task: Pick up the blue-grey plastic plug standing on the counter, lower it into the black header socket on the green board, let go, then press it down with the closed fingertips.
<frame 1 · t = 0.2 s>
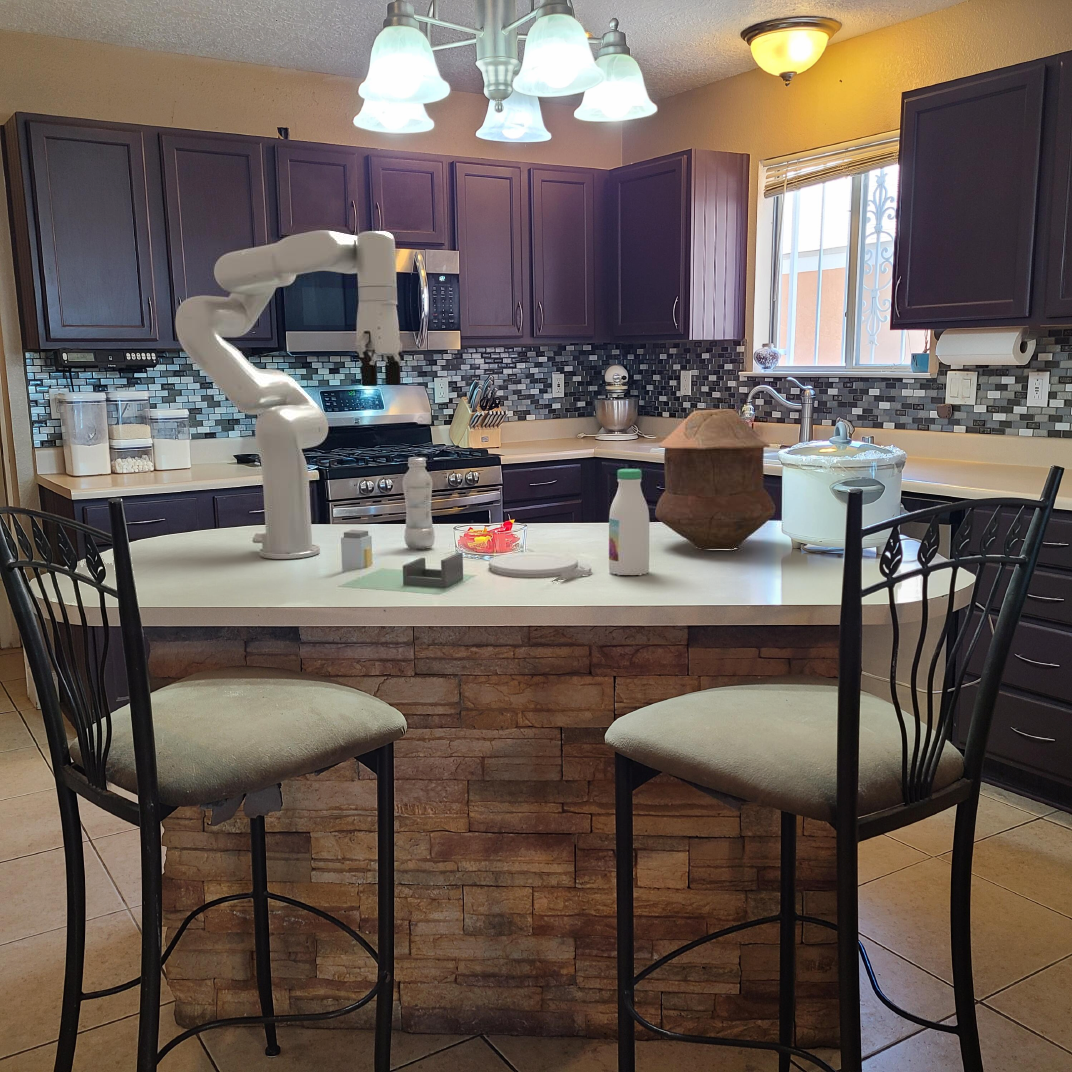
hand: (381, 385, 198), 36 cm above the countertop, tool pointing down, fingers open, 9 cm apart
plastic bottle: (419, 549, 218), on the countertop
board: (409, 586, 181), on the countertop
plug: (357, 571, 195), on the countertop
milk bottle: (628, 573, 191), on the countertop
pottery vessel: (713, 548, 215), on the countertop
lid: (540, 576, 191), on the countertop
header: (433, 582, 179), resting on board
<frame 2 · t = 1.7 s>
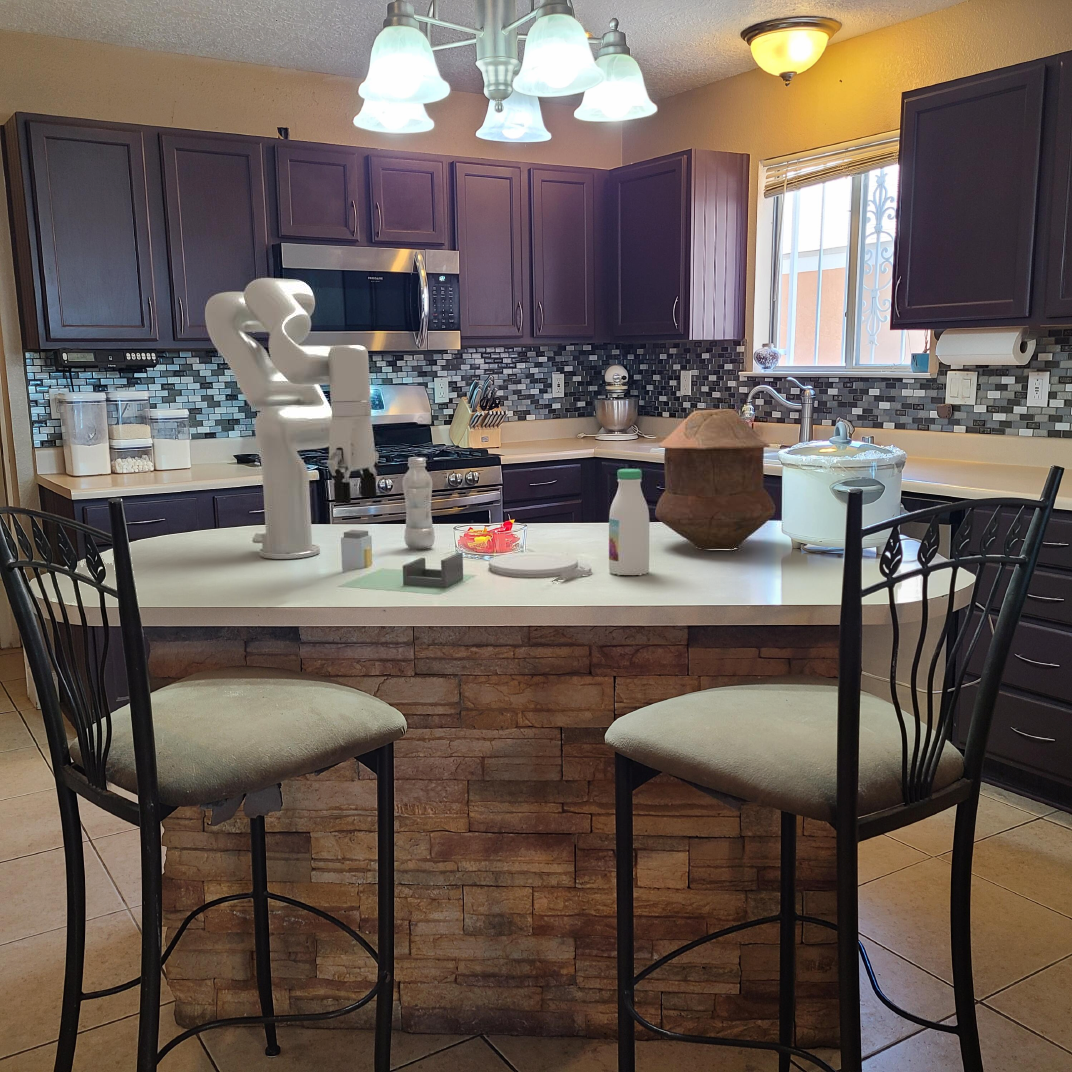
hand: (356, 499, 192), 14 cm above the countertop, tool pointing down, fingers open, 9 cm apart
nothing on the countertop moved.
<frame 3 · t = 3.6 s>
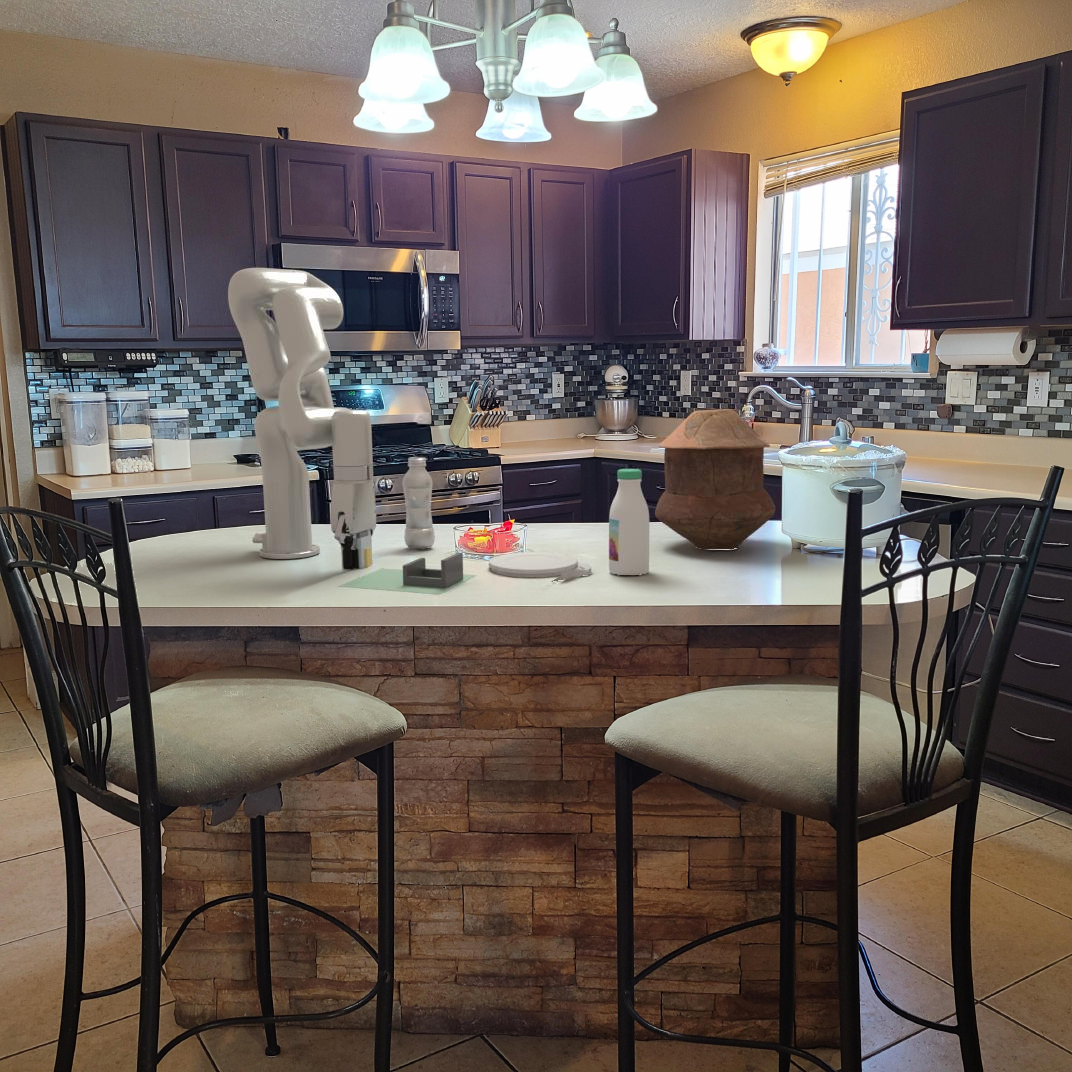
hand: (357, 565, 195), 1 cm above the countertop, tool pointing down, fingers closed on plug, 4 cm apart
plug: (357, 571, 195), on the countertop, touching gripper
everything else where it was.
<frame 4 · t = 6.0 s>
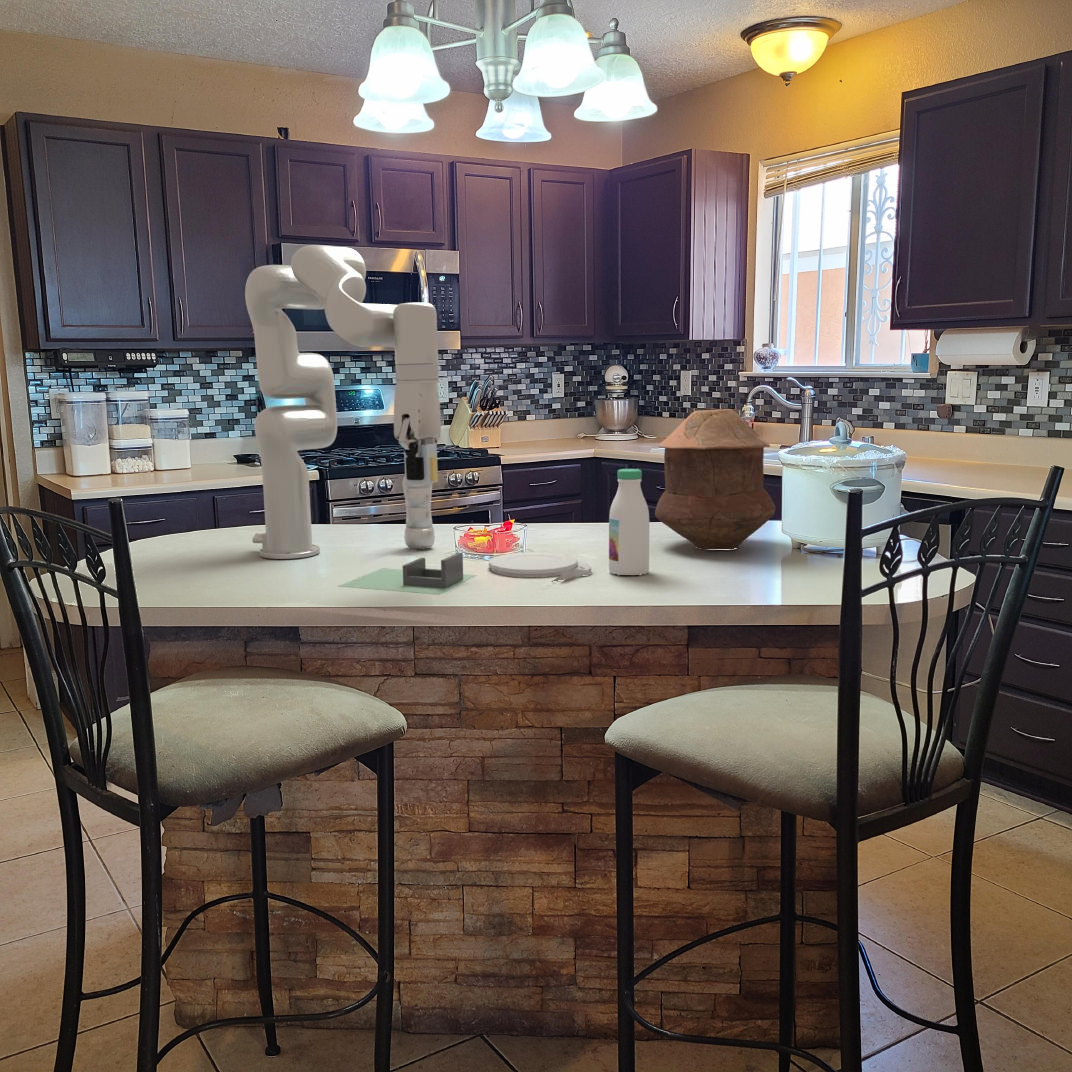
hand: (421, 477, 178), 20 cm above the countertop, tool pointing down, fingers closed on plug, 4 cm apart
plug: (421, 483, 178), point 19 cm above the countertop, touching gripper
everything else where it was.
when the fingers open (3 cm above the countertop, at t = 8.8 s): plug stays where it is, resting on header.
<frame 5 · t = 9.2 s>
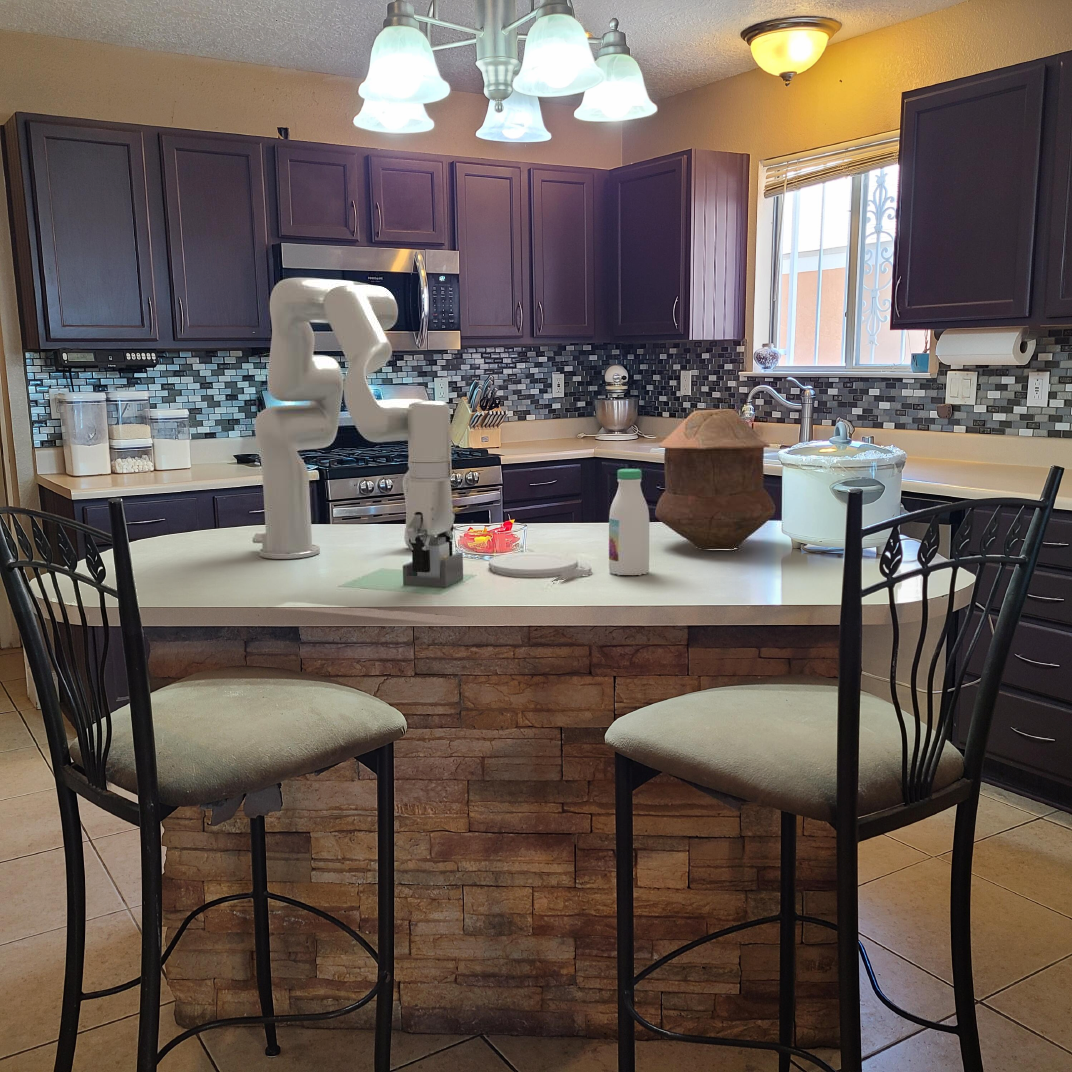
hand: (433, 566, 179), 4 cm above the countertop, tool pointing down, fingers open, 8 cm apart
plug: (433, 581, 179), point 1 cm above the countertop, touching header
everything else where it was.
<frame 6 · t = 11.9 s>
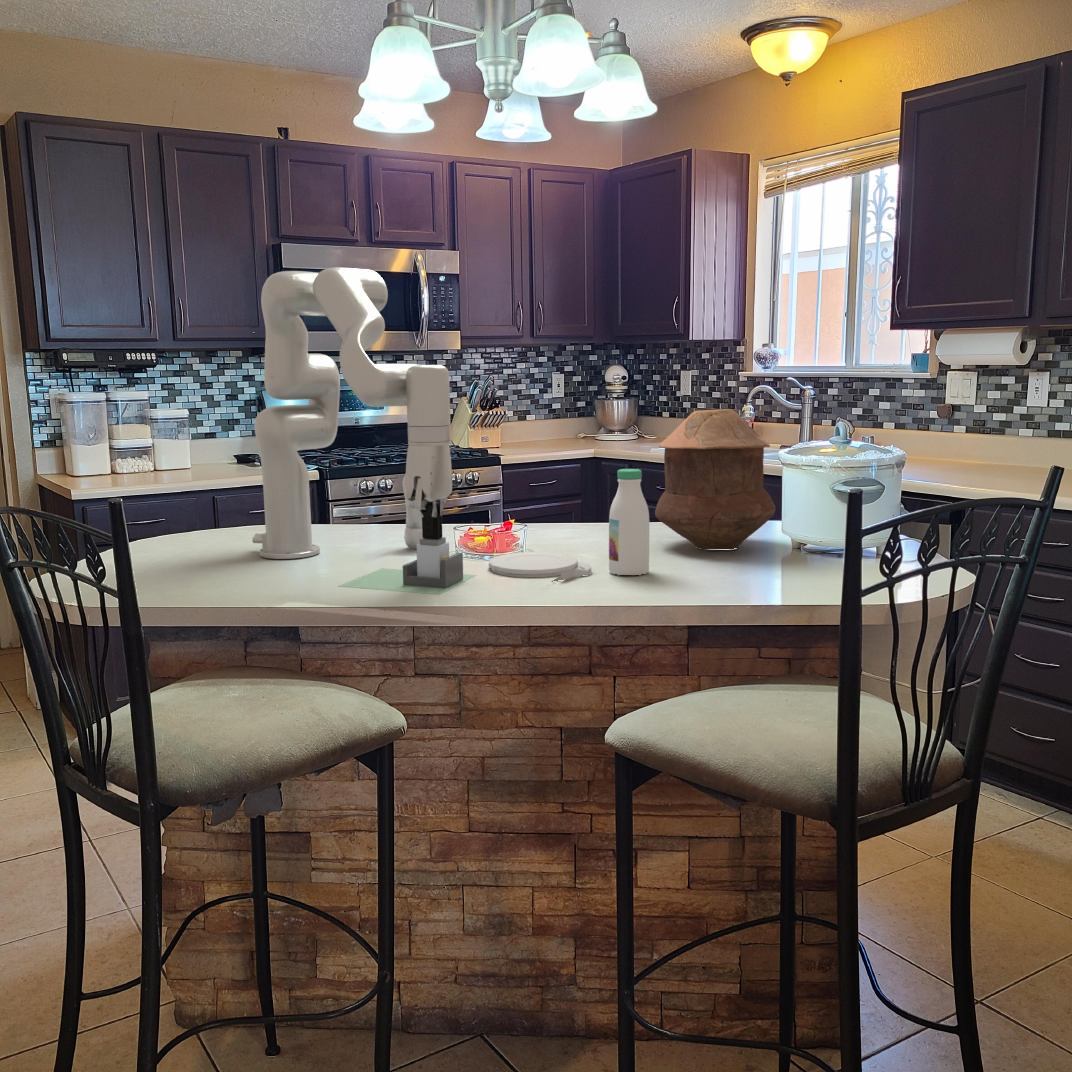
hand: (432, 538, 178), 9 cm above the countertop, tool pointing down, fingers closed
plug: (433, 581, 179), point 1 cm above the countertop, touching gripper, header
everything else where it was.
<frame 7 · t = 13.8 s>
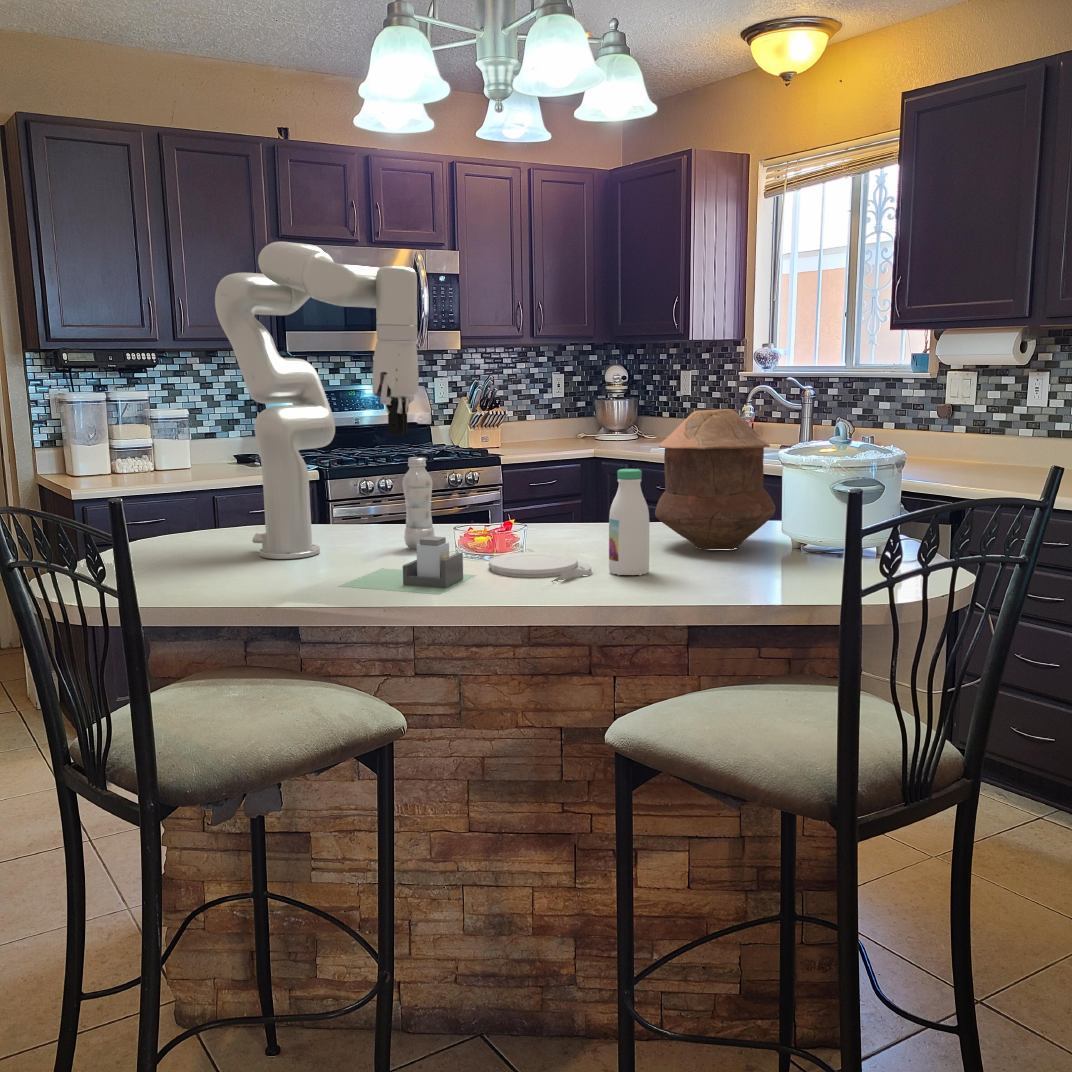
hand: (397, 434, 188), 27 cm above the countertop, tool pointing down, fingers closed
plug: (433, 581, 179), point 1 cm above the countertop, touching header
everything else where it was.
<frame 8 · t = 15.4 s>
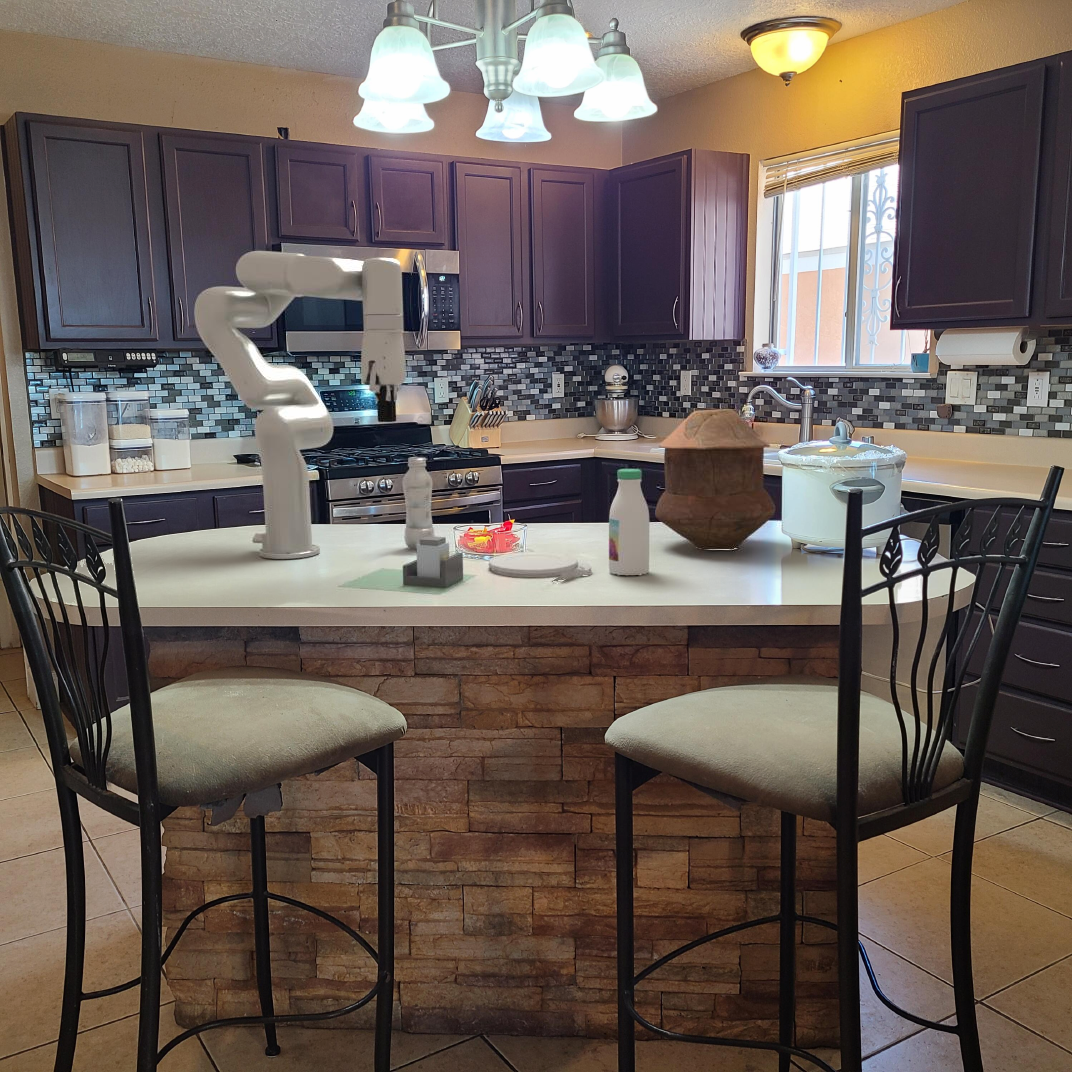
hand: (387, 421, 193), 29 cm above the countertop, tool pointing down, fingers closed
nothing on the countertop moved.
at the end: plug 0.1 cm off-centre on the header, point 0.1 cm above the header's base; plug tilted 0°; the gripper is holding nothing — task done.
